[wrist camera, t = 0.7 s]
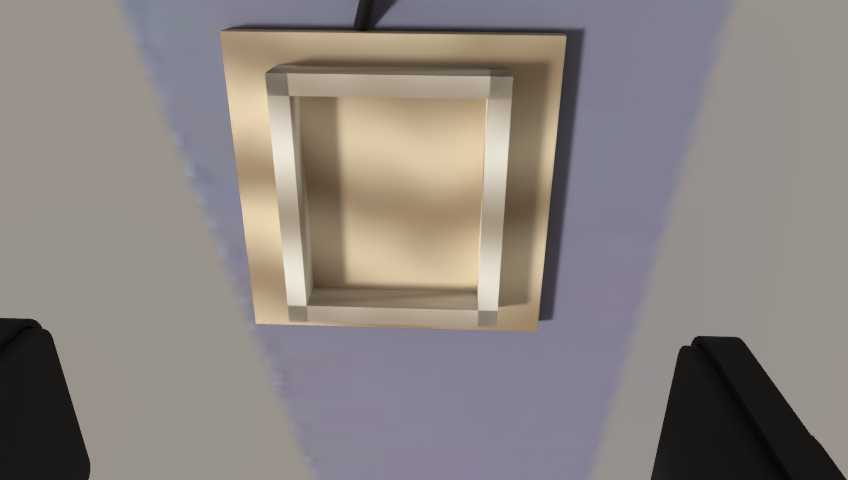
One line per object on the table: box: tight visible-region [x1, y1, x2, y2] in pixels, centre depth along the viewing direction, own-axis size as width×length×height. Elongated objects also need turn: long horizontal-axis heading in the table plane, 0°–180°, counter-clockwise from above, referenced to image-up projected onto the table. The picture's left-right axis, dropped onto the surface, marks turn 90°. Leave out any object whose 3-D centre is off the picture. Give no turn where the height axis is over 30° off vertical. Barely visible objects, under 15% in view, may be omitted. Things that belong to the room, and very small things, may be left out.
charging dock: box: [220, 29, 566, 331], centre depth 32 cm, size 16×16×3 cm
